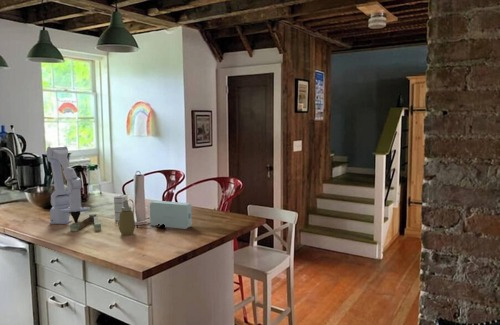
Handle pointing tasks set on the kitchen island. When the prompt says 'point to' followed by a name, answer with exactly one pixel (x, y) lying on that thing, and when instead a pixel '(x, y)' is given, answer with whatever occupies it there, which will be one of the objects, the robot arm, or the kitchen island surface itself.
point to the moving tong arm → (80, 224)
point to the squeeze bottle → (126, 220)
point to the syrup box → (119, 205)
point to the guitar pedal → (171, 214)
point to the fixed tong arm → (95, 222)
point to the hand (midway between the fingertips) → (76, 225)
